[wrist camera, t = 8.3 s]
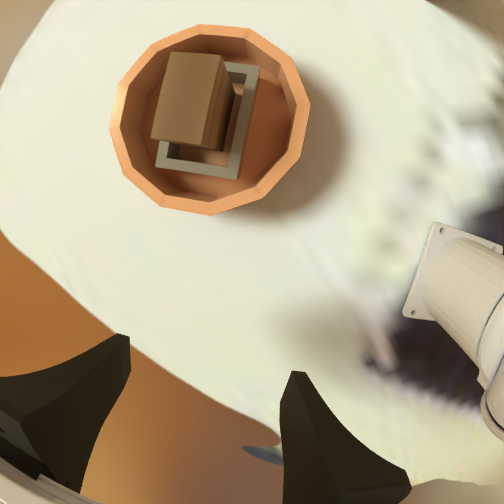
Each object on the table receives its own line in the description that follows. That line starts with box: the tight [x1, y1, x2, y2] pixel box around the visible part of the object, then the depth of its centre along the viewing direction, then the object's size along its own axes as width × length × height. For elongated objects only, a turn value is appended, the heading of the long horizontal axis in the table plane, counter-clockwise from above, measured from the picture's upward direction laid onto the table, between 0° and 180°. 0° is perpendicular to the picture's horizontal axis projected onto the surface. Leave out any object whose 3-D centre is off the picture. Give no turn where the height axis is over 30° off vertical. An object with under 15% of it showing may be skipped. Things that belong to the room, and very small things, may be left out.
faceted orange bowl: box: [109, 24, 310, 216], centre depth 16 cm, size 11×11×4 cm
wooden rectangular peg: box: [151, 52, 235, 152], centre depth 14 cm, size 2×4×7 cm, turn 169°
